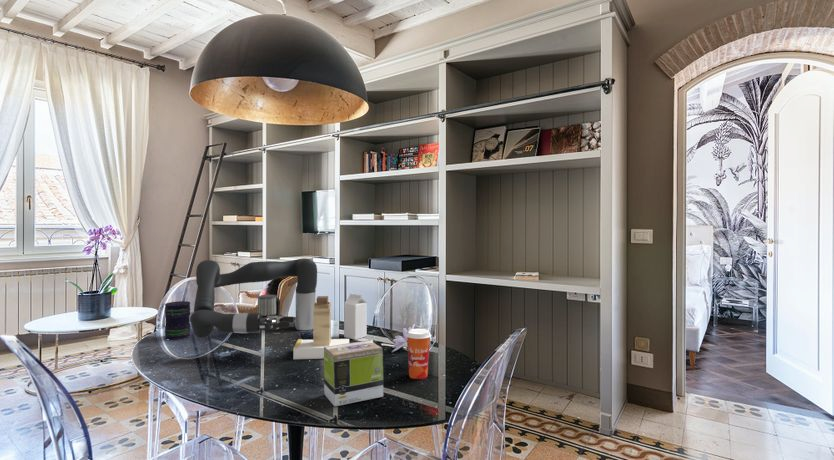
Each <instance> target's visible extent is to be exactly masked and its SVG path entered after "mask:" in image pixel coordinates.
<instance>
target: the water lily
mask: <svg viewBox="0 0 834 460" xmlns="http://www.w3.org/2000/svg"><path fill="white" fill-rule="evenodd" d="M415 325H416V323H413V324H412V326H409V327H408V329H407V328H404V327H403V329H402V336H401V335H395V336H394V338H395V340H393V342H394V344H393V345H392V347H391V348H394V349H393V350H391V353H394V352H396V351H398V350H400V349H401V348H402V347H403V346H405V345H407V336H406V334H407V333H408V331H409V330H411V329H415Z"/></svg>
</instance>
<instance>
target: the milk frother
mask: <svg viewBox="0 0 834 460" xmlns="http://www.w3.org/2000/svg"><path fill="white" fill-rule="evenodd" d="M256 298H257V313H261V314H262V318H267V316H275V315H280V312H281V299H280V298H279V297H278V296H277V295H276V294H262V295H261V294H260V295H257V296H256Z"/></svg>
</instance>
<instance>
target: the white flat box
mask: <svg viewBox="0 0 834 460" xmlns="http://www.w3.org/2000/svg"><path fill="white" fill-rule="evenodd" d="M347 343H350V338H331V342H330V345H329V346H334V345H341V344H347ZM324 347H327V346H313V339H302V338H298V339H297V340H296V343H295V344H294V346H293V354H292V355H293V359H292V360H313V359H314V360H316V359H323V360H324Z"/></svg>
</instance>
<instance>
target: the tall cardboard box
mask: <svg viewBox="0 0 834 460" xmlns="http://www.w3.org/2000/svg"><path fill="white" fill-rule="evenodd" d="M331 326H332V302H331V301H328V305H317V301H315V304H314V305H313V329H312V330H313V331H312V333H313V334H312V335H313V336H312V337H313V339H312V340H313V346H329V345H330V342H331V339H332V335H331V334H332V333H331V332H332V327H331Z"/></svg>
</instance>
